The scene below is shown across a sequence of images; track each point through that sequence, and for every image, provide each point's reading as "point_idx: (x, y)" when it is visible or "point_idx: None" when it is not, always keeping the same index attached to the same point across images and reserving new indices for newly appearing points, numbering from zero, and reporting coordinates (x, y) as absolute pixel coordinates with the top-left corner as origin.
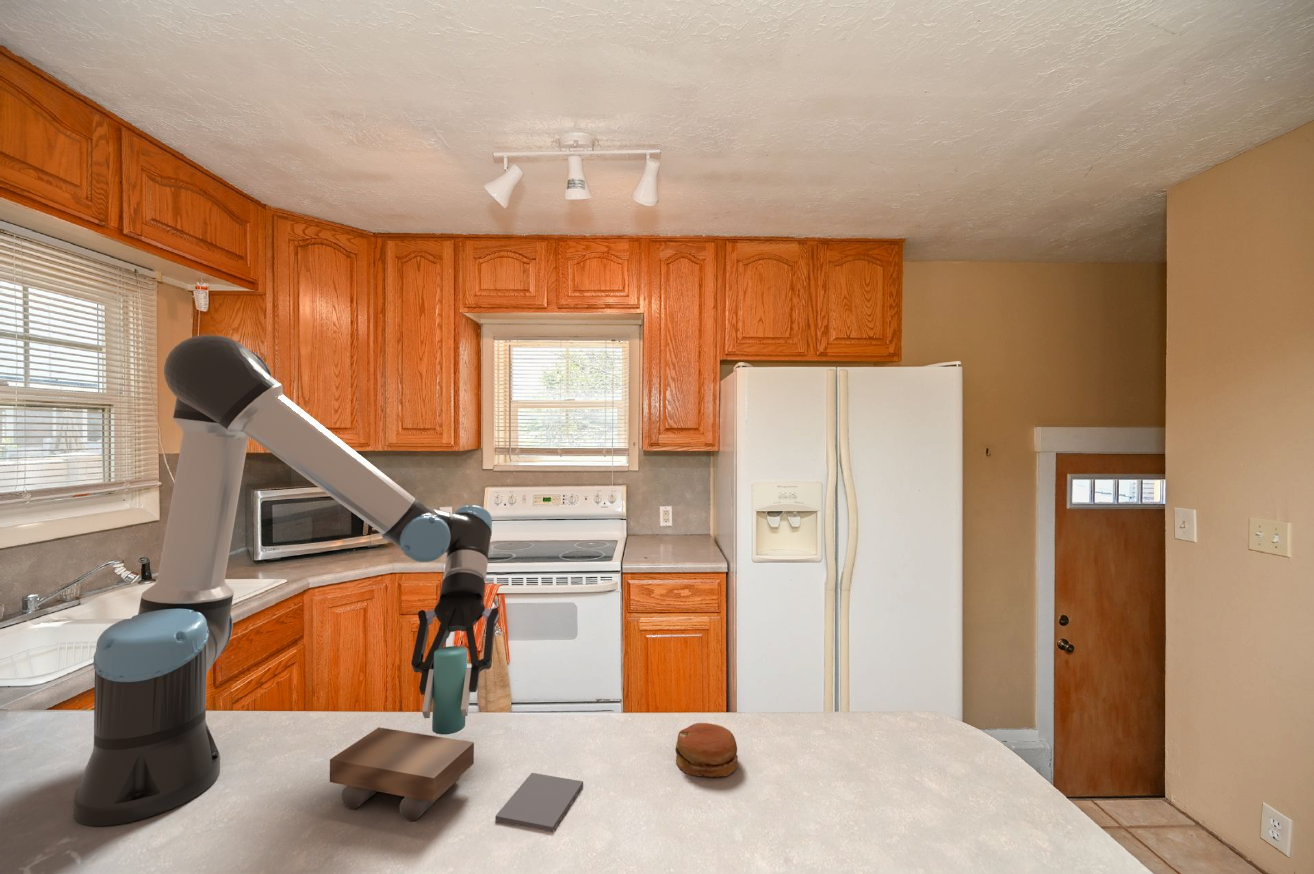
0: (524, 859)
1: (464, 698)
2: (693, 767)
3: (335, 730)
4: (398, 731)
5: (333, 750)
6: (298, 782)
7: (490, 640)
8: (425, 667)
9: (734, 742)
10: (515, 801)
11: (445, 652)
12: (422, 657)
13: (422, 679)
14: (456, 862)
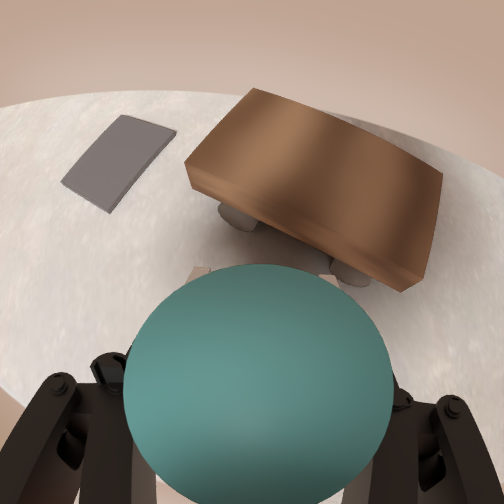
0: (159, 93)
1: None
2: None
3: None
4: (372, 247)
5: (463, 374)
6: (471, 280)
7: (2, 464)
8: (396, 394)
9: None
10: (145, 151)
11: (304, 384)
12: (422, 489)
13: None
14: (222, 94)
